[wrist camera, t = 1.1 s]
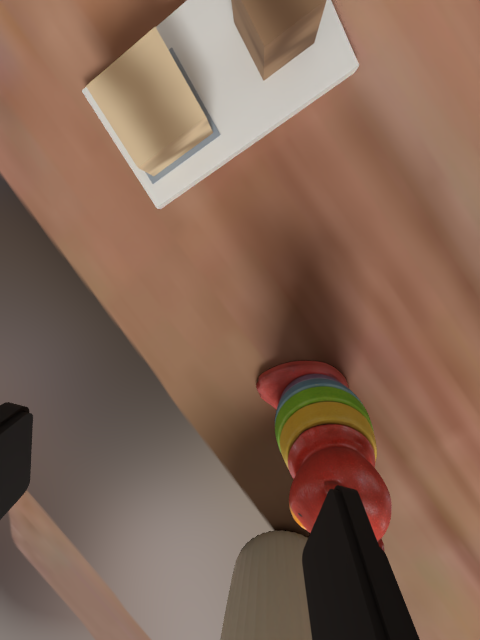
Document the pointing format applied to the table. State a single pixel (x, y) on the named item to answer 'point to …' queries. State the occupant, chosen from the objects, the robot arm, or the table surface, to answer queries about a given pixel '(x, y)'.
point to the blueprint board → (236, 88)
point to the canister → (268, 590)
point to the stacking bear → (324, 440)
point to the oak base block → (150, 105)
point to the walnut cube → (276, 29)
